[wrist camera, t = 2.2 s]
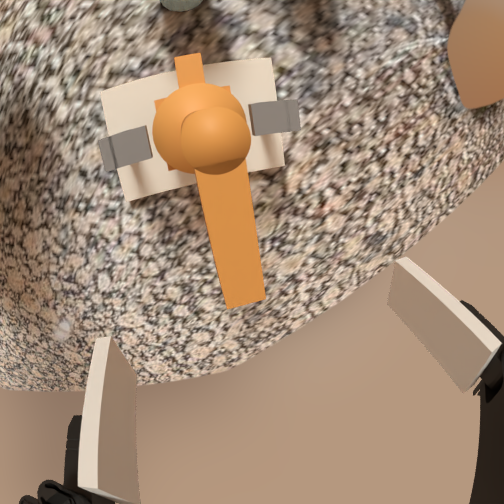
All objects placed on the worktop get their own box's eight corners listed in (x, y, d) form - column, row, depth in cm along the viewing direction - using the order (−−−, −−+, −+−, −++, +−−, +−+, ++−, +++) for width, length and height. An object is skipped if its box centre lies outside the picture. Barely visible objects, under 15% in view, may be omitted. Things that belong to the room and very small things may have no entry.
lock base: (128, 198, 32) (108, 236, 22) (103, 92, 25) (69, 85, 15) (280, 163, 35) (321, 186, 25) (267, 59, 28) (306, 40, 18)
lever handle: (177, 217, 30) (182, 320, 16) (147, 74, 22) (107, 28, 8) (246, 201, 32) (308, 286, 17) (224, 59, 23) (280, 2, 9)
